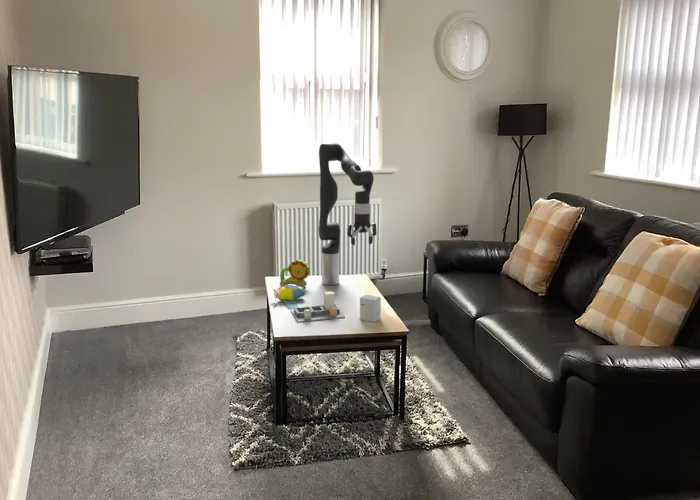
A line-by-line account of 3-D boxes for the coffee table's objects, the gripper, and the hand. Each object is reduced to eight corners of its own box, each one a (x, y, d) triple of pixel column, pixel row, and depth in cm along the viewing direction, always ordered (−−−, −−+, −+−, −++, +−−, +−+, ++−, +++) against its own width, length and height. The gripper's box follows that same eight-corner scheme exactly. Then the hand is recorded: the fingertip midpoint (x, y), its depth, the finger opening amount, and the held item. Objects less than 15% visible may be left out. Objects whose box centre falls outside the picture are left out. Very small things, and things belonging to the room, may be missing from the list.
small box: (380, 319, 284) (381, 297, 282) (374, 322, 279) (375, 300, 277) (365, 315, 288) (365, 294, 286) (359, 319, 283) (359, 297, 281)
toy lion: (279, 287, 330) (278, 259, 327) (282, 284, 336) (282, 257, 332) (307, 289, 327) (307, 261, 323) (311, 286, 332) (310, 259, 328)
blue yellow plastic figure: (266, 278, 317) (295, 276, 323) (266, 295, 319) (295, 292, 325) (283, 294, 292) (313, 291, 298) (283, 311, 294) (313, 308, 300)
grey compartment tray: (291, 312, 292) (290, 302, 291) (336, 307, 299) (336, 298, 298) (297, 322, 279) (297, 312, 278) (344, 317, 285) (344, 308, 284)
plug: (323, 310, 293) (323, 292, 291) (332, 309, 294) (332, 291, 292) (326, 313, 290) (326, 294, 288) (334, 312, 291) (334, 293, 289)
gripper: (373, 210, 308) (373, 241, 312) (345, 211, 304) (345, 243, 308) (378, 212, 301) (378, 245, 305) (350, 214, 297) (350, 247, 301)
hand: (361, 244), depth 306 cm, fingers open, 8 cm apart
